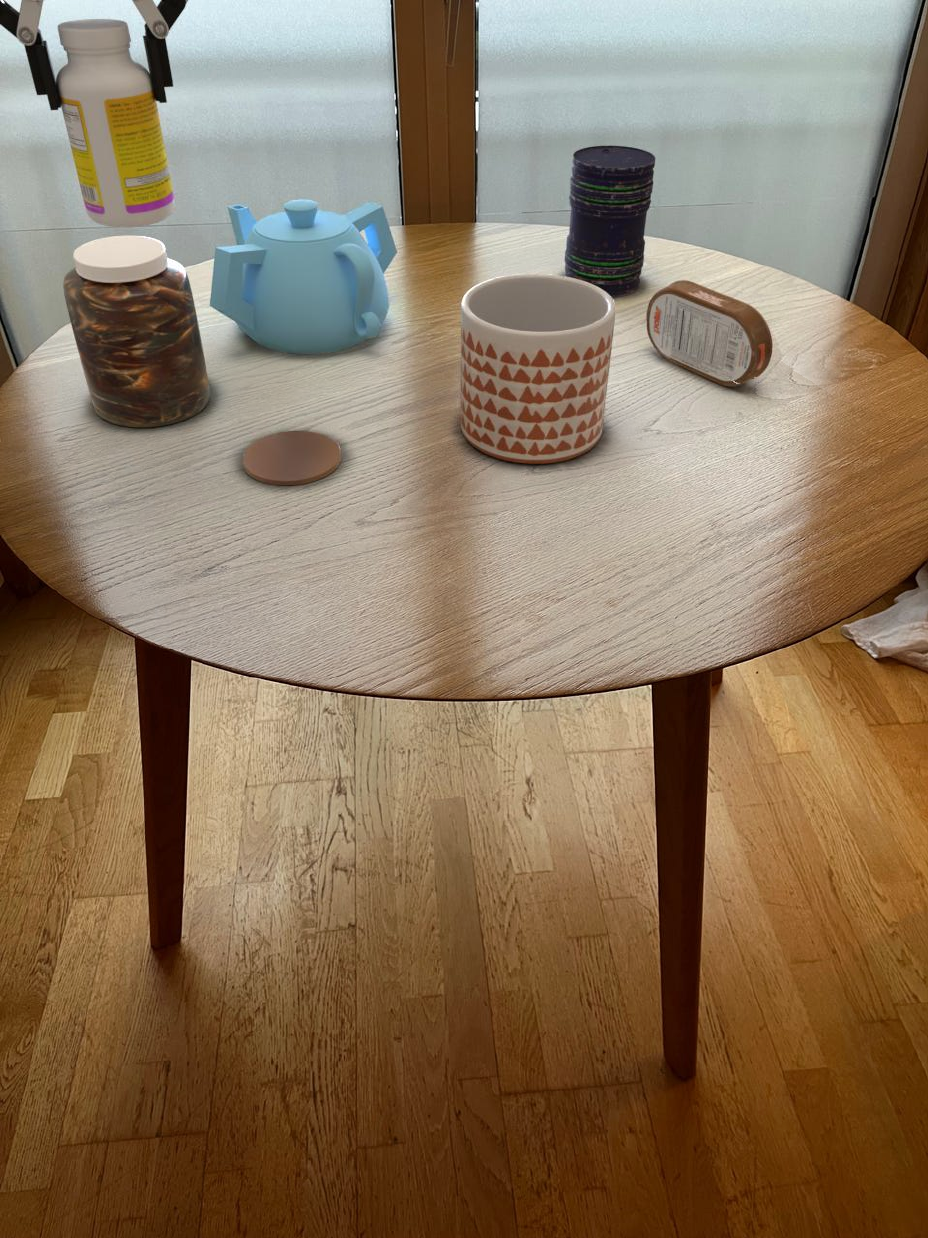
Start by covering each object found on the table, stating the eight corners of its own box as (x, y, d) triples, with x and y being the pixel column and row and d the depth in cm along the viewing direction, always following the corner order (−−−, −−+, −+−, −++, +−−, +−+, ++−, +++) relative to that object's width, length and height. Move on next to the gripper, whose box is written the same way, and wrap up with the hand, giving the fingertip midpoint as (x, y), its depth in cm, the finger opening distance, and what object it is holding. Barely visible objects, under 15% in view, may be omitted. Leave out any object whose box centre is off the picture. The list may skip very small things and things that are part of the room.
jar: (229, 379, 101) (205, 233, 91) (184, 433, 92) (152, 278, 82) (124, 369, 102) (89, 225, 93) (70, 422, 94) (26, 268, 84)
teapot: (399, 296, 118) (394, 177, 109) (387, 366, 103) (380, 235, 94) (244, 295, 118) (226, 176, 109) (210, 365, 104) (186, 234, 95)
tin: (765, 391, 99) (783, 312, 94) (746, 400, 98) (763, 321, 92) (655, 343, 108) (666, 268, 103) (636, 351, 107) (646, 275, 101)
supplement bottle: (188, 204, 77) (157, 17, 69) (159, 232, 72) (121, 33, 63) (107, 200, 77) (67, 14, 69) (73, 227, 72) (24, 30, 64)
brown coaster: (252, 493, 84) (251, 488, 84) (235, 444, 91) (234, 439, 90) (352, 475, 86) (351, 470, 86) (328, 428, 93) (328, 424, 93)
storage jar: (652, 294, 119) (669, 165, 109) (577, 300, 117) (588, 170, 108) (624, 265, 126) (638, 142, 117) (553, 271, 125) (561, 147, 115)
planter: (499, 385, 100) (503, 262, 92) (622, 416, 95) (638, 289, 87) (434, 443, 91) (432, 313, 83) (567, 480, 86) (579, 346, 78)
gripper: (-126, -231, 53) (-22, 123, 65) (193, -226, 57) (237, 105, 69) (-111, -228, 58) (-18, 99, 70) (179, -224, 63) (222, 83, 74)
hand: (108, 99), depth 69 cm, fingers closed on supplement bottle, 6 cm apart
